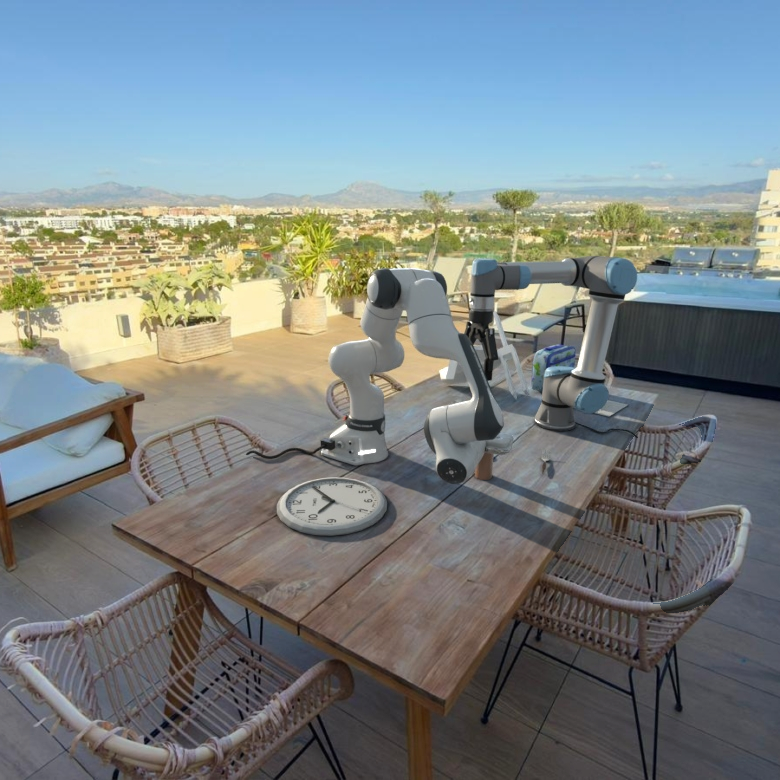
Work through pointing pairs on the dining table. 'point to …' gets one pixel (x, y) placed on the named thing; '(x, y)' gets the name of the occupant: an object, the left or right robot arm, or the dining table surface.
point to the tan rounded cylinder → (485, 467)
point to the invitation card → (611, 408)
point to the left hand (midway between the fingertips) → (479, 428)
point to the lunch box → (550, 362)
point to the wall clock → (331, 506)
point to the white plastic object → (508, 352)
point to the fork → (545, 460)
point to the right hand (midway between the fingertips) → (476, 374)
